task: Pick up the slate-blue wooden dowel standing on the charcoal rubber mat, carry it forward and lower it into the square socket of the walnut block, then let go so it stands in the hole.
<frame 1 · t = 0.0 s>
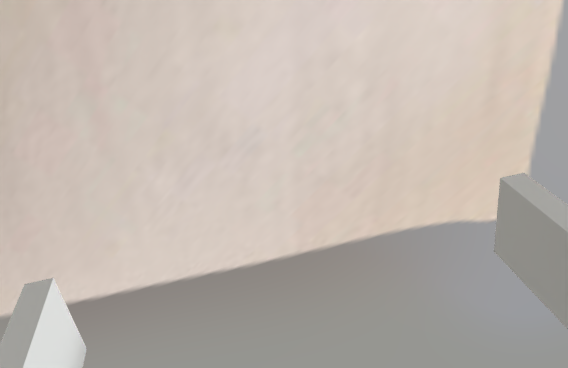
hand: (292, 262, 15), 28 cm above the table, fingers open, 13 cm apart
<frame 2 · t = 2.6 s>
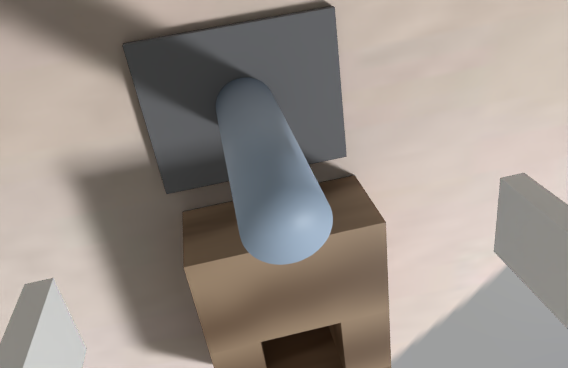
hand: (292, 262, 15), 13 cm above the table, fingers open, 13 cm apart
socket block: (285, 280, 32), on the table
mat: (244, 103, 26), on the table
dowel: (245, 106, 25), resting on mat
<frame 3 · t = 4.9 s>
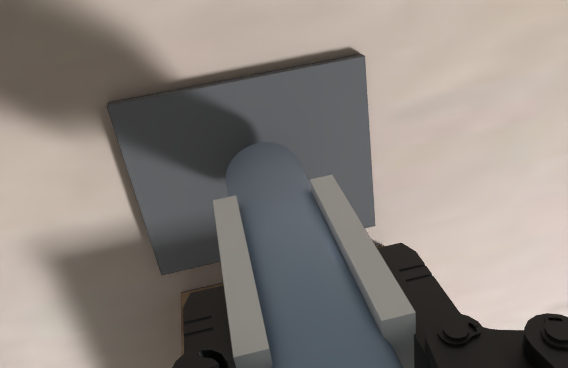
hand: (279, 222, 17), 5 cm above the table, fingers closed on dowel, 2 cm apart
mat: (255, 168, 21), on the table
dowel: (264, 177, 19), point 2 cm above the table, touching gripper
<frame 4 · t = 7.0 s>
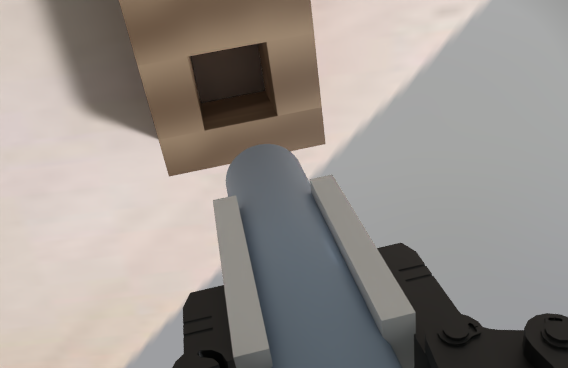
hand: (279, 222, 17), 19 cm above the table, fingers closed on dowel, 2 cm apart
socket block: (221, 38, 32), on the table
dowel: (264, 179, 19), point 16 cm above the table, touching gripper
when the fingers open (6 cm above the table, at t = 9.8 s): dowel drops 3 cm, resting in socket block.
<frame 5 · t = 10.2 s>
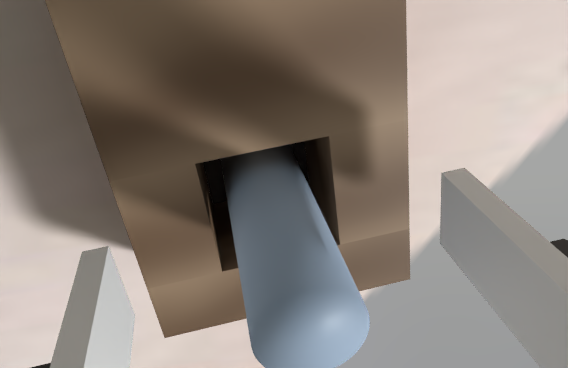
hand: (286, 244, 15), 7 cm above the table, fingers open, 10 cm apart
socket block: (246, 112, 21), on the table
dowel: (253, 150, 22), resting in socket block
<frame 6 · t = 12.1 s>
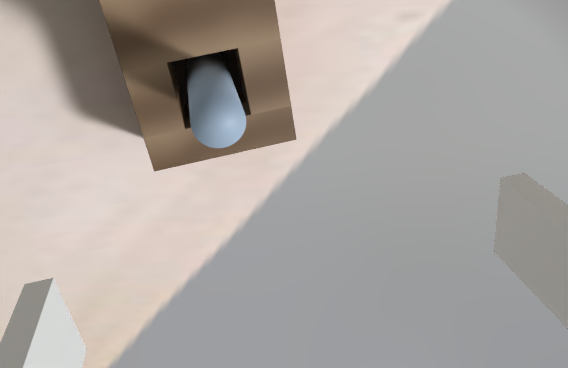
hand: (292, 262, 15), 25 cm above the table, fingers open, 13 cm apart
socket block: (201, 45, 36), on the table
dowel: (206, 70, 37), resting in socket block
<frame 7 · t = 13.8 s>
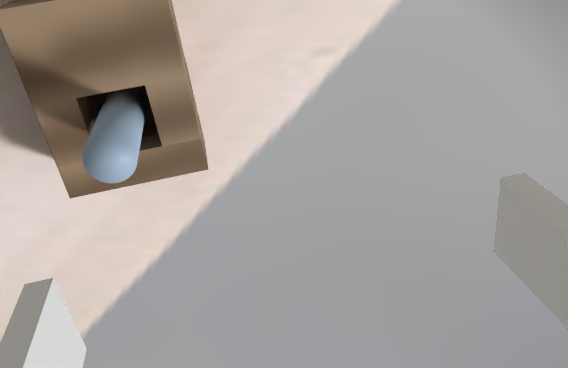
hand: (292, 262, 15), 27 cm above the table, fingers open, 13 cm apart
socket block: (120, 77, 37), on the table
dowel: (127, 100, 38), resting in socket block
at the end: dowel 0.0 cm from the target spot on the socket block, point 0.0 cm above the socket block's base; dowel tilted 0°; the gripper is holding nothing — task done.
